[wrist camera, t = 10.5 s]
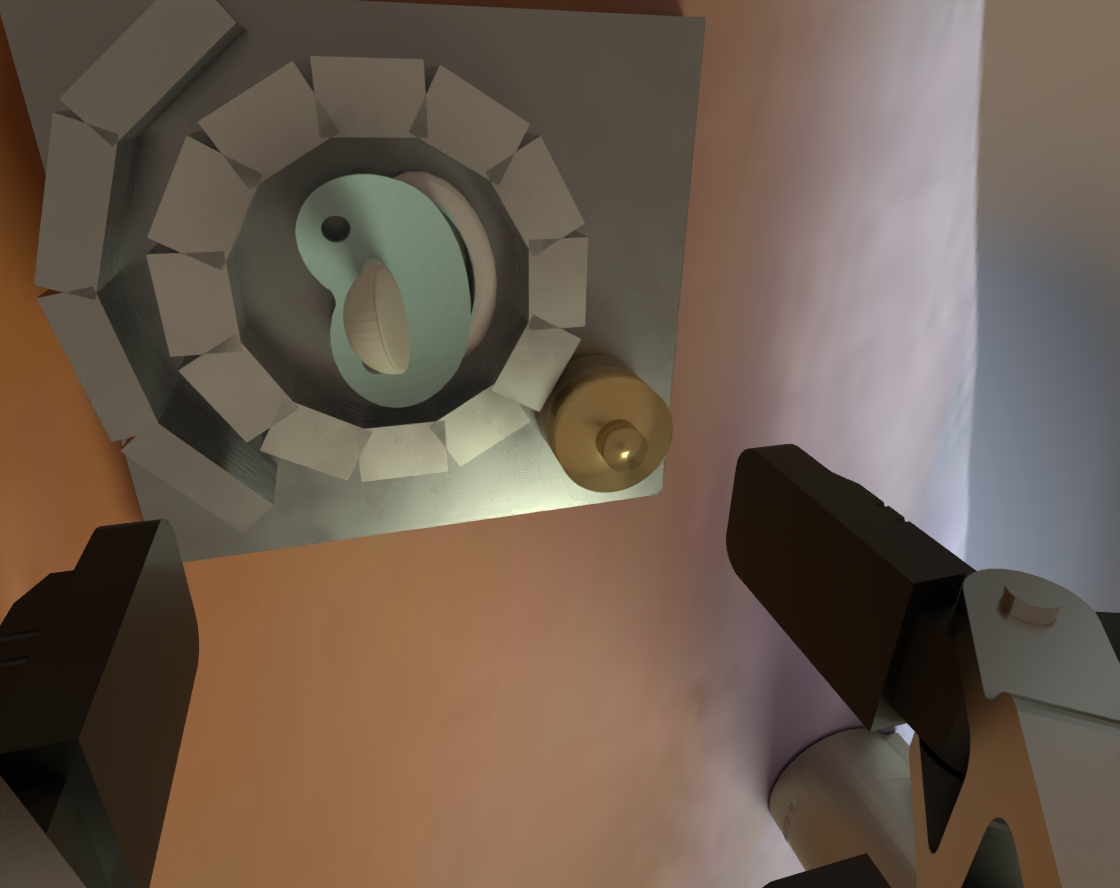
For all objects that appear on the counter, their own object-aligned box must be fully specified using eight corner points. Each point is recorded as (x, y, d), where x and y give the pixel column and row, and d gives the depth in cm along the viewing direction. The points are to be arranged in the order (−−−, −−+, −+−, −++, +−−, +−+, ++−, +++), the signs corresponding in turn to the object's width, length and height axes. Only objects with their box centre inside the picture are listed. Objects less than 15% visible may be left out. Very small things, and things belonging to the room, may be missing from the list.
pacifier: (467, 142, 23) (277, 180, 22) (520, 159, 18) (274, 210, 17) (509, 352, 27) (348, 395, 25) (563, 418, 21) (363, 477, 20)
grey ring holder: (686, 13, 25) (773, -4, 20) (648, 477, 33) (703, 544, 28) (3, -22, 19) (-98, -56, 15) (159, 544, 27) (126, 639, 23)
